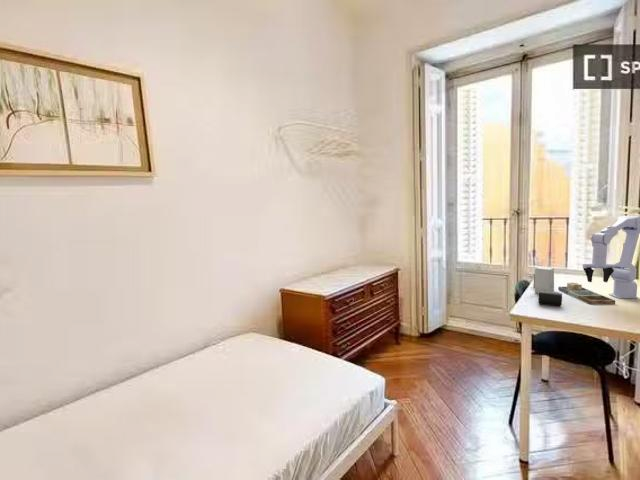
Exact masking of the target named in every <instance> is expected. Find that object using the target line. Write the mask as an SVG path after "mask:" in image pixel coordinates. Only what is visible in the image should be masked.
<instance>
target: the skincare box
mask: <svg viewBox="0 0 640 480" xmlns="http://www.w3.org/2000/svg"><path fill="white" fill-rule="evenodd" d="M534 274H535V287H534V293H535V294H539V291H547V292H552V293H553V292H555V268H554V267H545V266H544V267H543V266H537V267H535V268H534Z"/></svg>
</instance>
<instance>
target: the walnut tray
mask: <svg viewBox="0 0 640 480" xmlns="http://www.w3.org/2000/svg"><path fill="white" fill-rule="evenodd" d="M578 300H579V301H581V300H582V302H584V303H586V304H588V305H616V300H615V299H613V298H610V297H608V296H605V295H602V296H579V299H578Z"/></svg>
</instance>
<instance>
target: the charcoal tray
mask: <svg viewBox="0 0 640 480" xmlns="http://www.w3.org/2000/svg"><path fill="white" fill-rule="evenodd" d="M558 291H559V292H562V293H564V294H566V295H568V291H591V290H590V289H587V288H586V287H583V286H582V288H581V290H567V286H558Z"/></svg>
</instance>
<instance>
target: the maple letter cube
mask: <svg viewBox="0 0 640 480" xmlns="http://www.w3.org/2000/svg"><path fill="white" fill-rule="evenodd" d="M566 283H567V284H566V287H567V290H581V288H582V287H583V285H582V284H581V283H579V282H566Z"/></svg>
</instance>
